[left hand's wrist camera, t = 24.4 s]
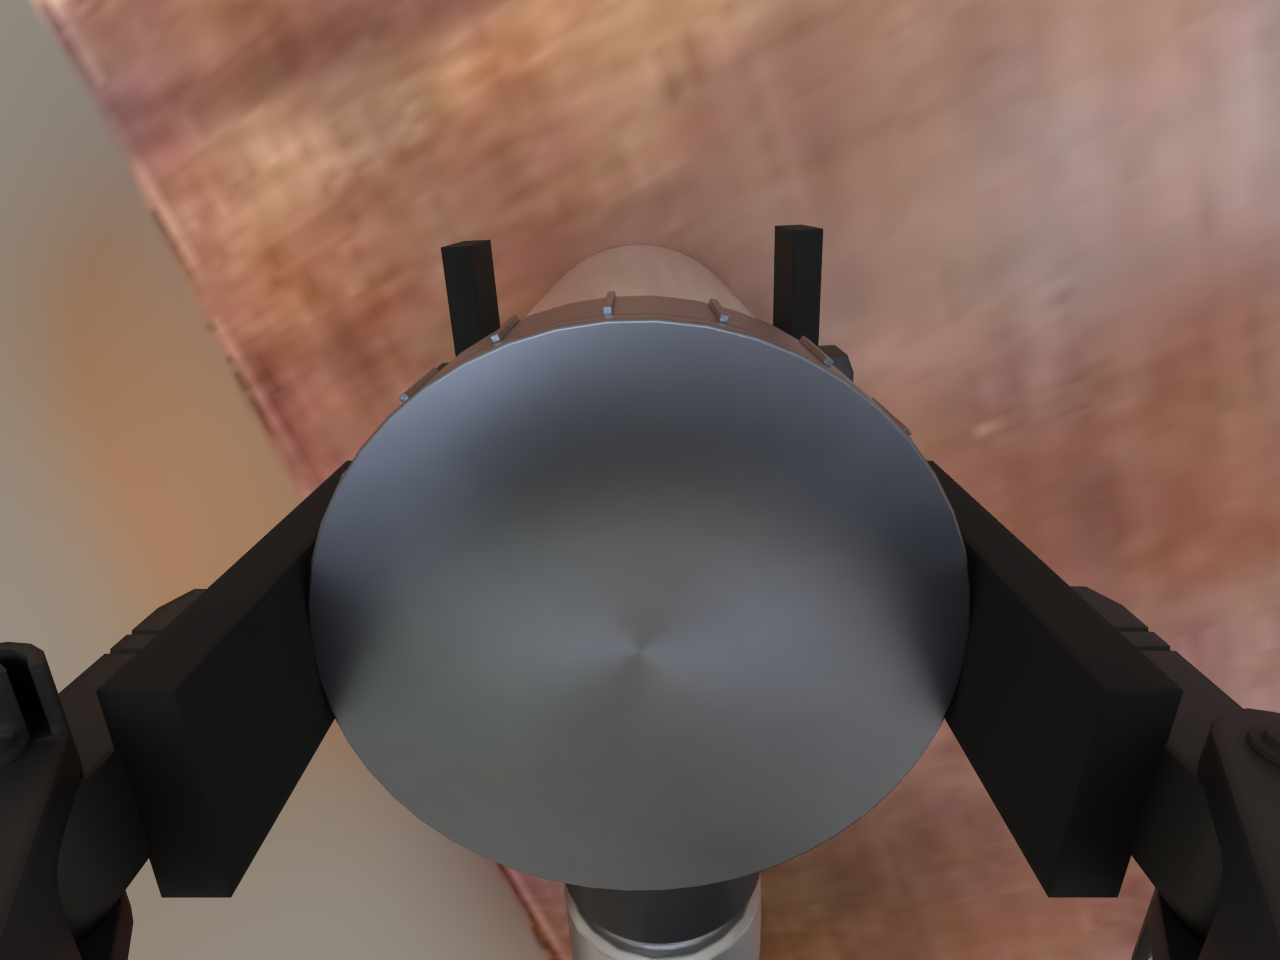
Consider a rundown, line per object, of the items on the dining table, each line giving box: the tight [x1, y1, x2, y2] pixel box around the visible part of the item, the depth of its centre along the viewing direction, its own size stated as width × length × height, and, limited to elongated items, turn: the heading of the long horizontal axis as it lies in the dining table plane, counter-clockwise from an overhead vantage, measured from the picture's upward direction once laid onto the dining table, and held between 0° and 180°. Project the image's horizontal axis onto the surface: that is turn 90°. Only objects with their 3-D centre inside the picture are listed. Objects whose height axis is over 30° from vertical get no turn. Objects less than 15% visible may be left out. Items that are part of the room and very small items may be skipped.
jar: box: [524, 245, 755, 318], centre depth 19 cm, size 8×8×18 cm
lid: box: [307, 291, 971, 891], centre depth 11 cm, size 9×9×2 cm
